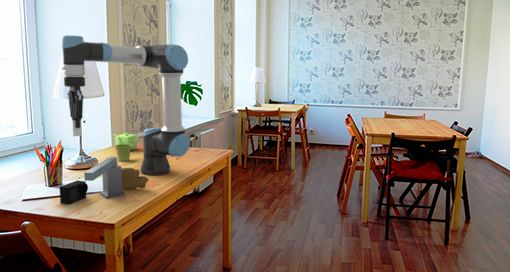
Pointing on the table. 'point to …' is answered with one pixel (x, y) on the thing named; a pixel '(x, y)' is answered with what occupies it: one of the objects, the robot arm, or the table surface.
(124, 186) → the wooden carving
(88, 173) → the swing arm
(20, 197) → the table surface
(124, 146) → the plant pot
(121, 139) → the kettle
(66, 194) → the digital camera
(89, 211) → the table surface
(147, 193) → the table surface
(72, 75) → the robot arm
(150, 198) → the table surface
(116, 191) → the pivot post
